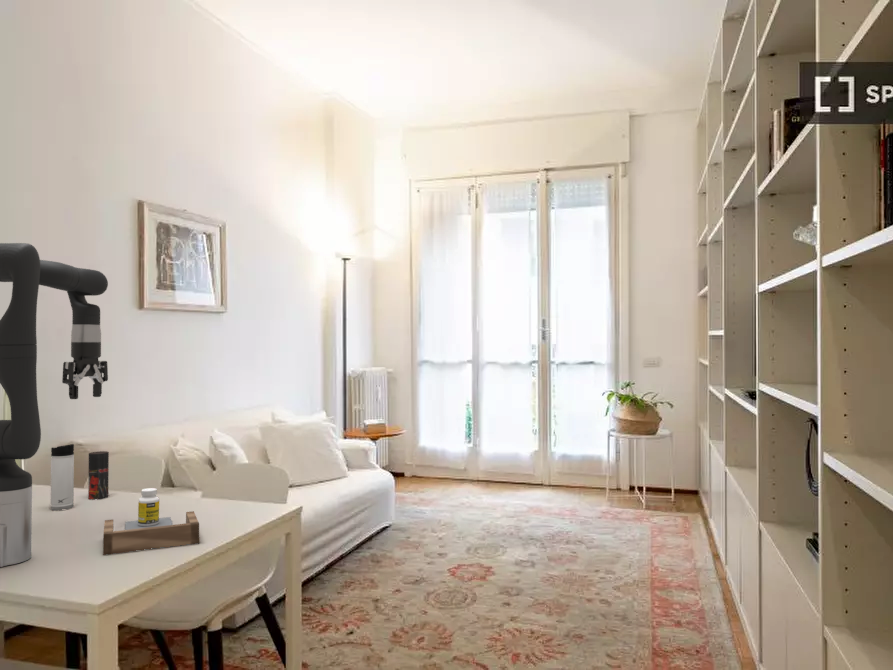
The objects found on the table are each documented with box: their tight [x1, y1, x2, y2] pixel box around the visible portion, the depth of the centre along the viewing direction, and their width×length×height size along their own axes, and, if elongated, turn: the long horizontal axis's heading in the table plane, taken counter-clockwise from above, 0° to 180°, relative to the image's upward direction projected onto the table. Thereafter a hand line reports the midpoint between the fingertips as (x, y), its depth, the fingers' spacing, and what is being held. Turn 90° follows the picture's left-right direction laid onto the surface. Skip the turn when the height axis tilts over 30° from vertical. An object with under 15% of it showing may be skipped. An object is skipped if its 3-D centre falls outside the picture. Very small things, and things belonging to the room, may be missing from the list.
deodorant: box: [87, 450, 110, 501], centre depth 223 cm, size 6×6×15 cm
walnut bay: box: [102, 510, 200, 556], centre depth 173 cm, size 14×22×5 cm, turn 116°
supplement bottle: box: [137, 487, 160, 526], centre depth 188 cm, size 5×5×10 cm
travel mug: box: [50, 443, 75, 511], centre depth 208 cm, size 6×7×20 cm
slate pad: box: [124, 516, 174, 530], centre depth 188 cm, size 12×12×1 cm
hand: (85, 398), depth 189 cm, fingers open, 8 cm apart
